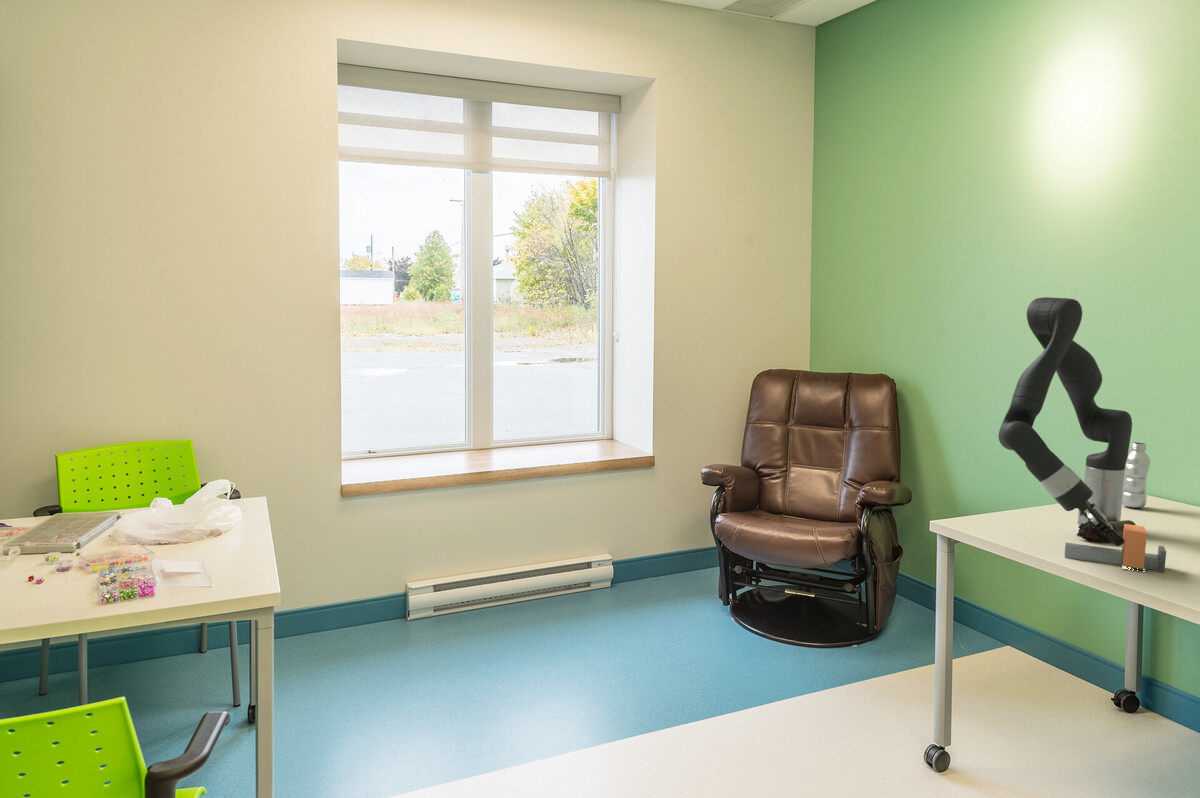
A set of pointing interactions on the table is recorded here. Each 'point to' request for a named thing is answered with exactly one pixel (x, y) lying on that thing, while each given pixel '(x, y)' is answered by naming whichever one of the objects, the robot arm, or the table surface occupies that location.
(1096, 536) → the dark brown rough lump
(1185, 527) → the table surface
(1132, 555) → the sleeve
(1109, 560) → the bar
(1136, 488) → the plastic bottle
